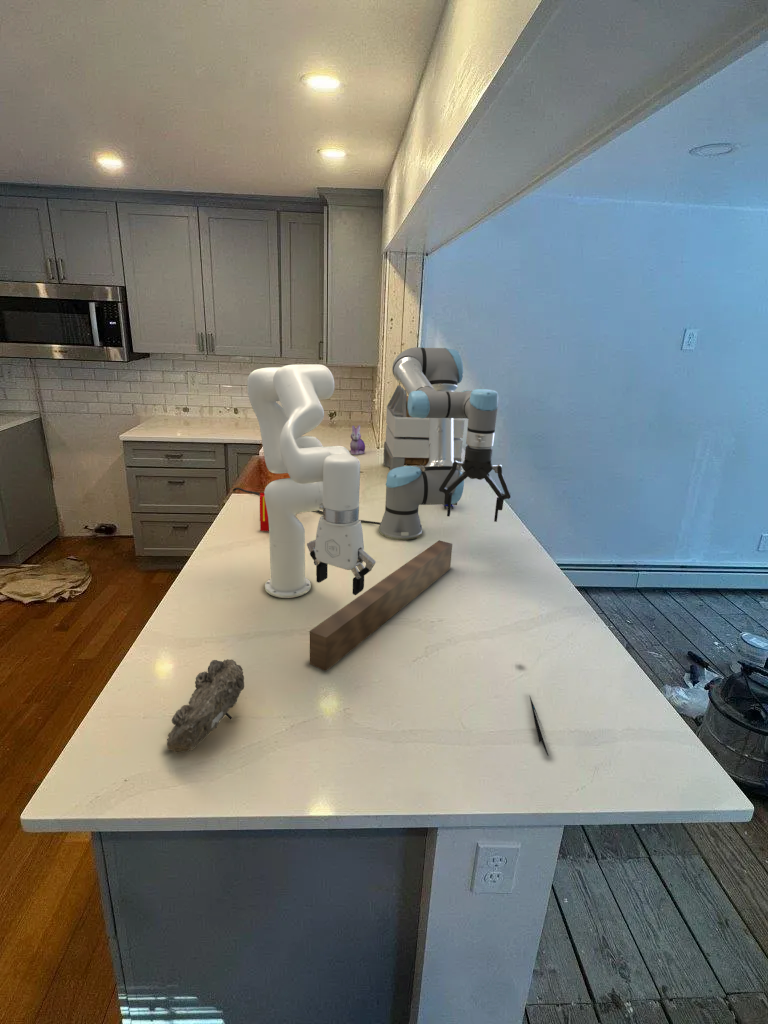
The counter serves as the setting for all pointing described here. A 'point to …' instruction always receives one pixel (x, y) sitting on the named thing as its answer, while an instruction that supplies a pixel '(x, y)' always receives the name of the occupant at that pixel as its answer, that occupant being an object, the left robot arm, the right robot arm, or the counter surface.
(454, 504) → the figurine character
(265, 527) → the toy
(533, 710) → the feather
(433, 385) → the right robot arm
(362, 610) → the post
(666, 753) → the counter surface
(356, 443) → the figurine
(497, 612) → the counter surface
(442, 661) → the counter surface
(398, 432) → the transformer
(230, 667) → the fossil
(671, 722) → the counter surface
